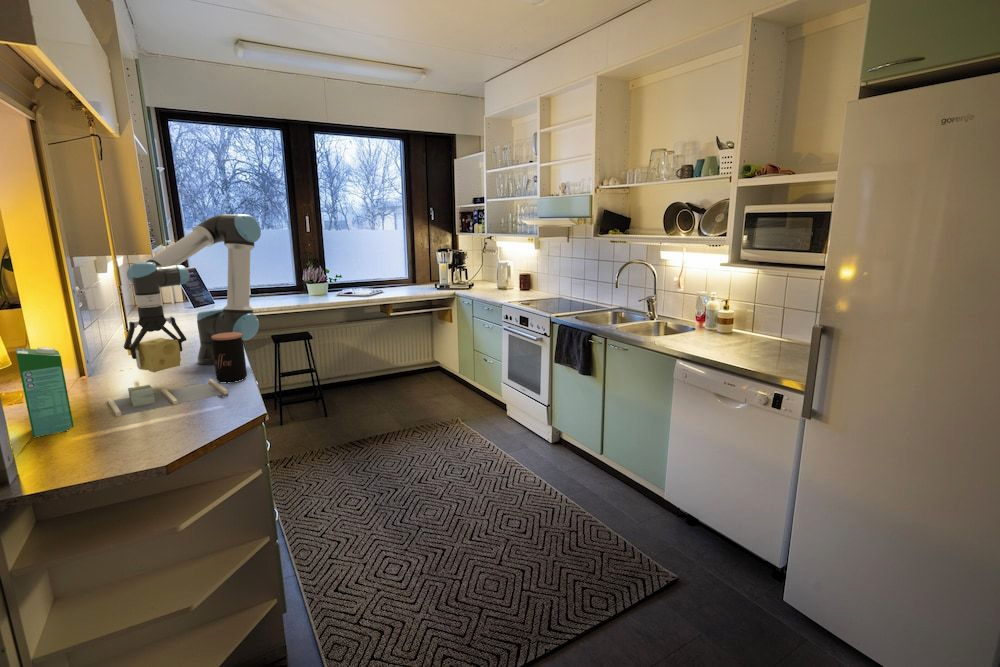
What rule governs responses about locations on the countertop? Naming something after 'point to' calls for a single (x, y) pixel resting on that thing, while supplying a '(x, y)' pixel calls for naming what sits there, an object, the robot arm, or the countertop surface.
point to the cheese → (159, 354)
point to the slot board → (170, 397)
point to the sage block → (141, 395)
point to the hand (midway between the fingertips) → (159, 363)
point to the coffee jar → (229, 357)
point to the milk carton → (44, 390)
